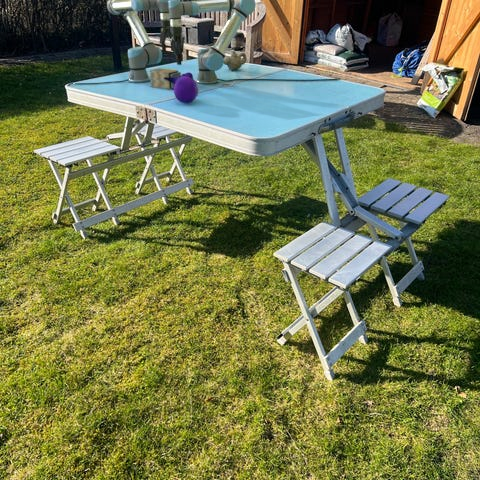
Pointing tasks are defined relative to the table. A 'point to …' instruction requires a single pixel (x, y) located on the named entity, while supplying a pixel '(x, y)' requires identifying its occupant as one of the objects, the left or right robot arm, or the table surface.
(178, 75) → the drawer
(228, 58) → the teapot
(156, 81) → the tan cardboard box
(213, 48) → the right robot arm
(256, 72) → the table surface
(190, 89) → the toy
